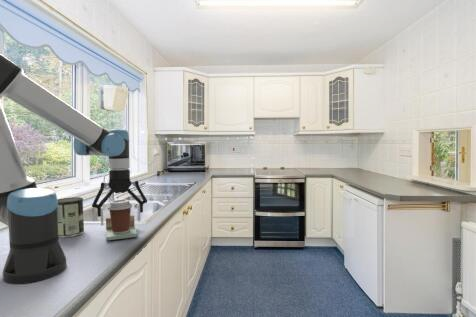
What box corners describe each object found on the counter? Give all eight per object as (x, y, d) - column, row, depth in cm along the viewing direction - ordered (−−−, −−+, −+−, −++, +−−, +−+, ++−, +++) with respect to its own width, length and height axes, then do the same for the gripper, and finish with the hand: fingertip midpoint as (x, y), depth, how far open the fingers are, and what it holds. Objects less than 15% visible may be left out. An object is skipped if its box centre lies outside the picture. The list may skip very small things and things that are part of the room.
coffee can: (73, 228, 129) (71, 196, 128) (89, 231, 125) (88, 198, 124) (49, 235, 120) (47, 200, 119) (66, 239, 116) (65, 202, 115)
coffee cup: (119, 236, 113) (118, 204, 113) (103, 233, 118) (102, 202, 117) (138, 229, 121) (137, 200, 121) (122, 226, 126) (121, 198, 125)
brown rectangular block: (134, 229, 128) (134, 215, 127) (106, 232, 123) (105, 218, 123) (134, 228, 129) (133, 214, 129) (106, 231, 125) (105, 217, 125)
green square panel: (134, 229, 127) (137, 236, 116) (106, 232, 123) (106, 240, 112) (134, 226, 127) (137, 233, 116) (106, 229, 123) (106, 237, 112)
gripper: (150, 167, 126) (152, 217, 128) (84, 169, 116) (86, 223, 118) (153, 168, 120) (154, 221, 121) (83, 171, 110) (85, 228, 111)
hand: (121, 222), depth 119 cm, fingers open, 13 cm apart
